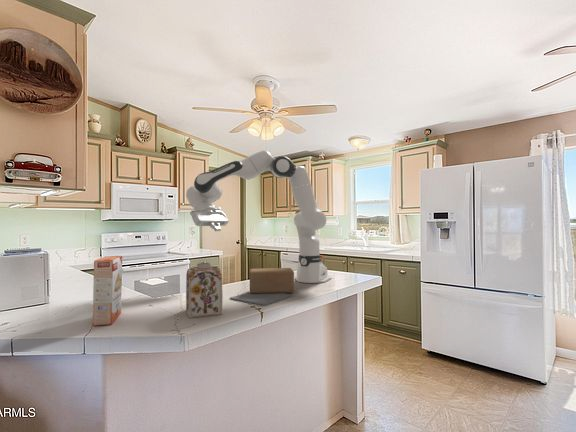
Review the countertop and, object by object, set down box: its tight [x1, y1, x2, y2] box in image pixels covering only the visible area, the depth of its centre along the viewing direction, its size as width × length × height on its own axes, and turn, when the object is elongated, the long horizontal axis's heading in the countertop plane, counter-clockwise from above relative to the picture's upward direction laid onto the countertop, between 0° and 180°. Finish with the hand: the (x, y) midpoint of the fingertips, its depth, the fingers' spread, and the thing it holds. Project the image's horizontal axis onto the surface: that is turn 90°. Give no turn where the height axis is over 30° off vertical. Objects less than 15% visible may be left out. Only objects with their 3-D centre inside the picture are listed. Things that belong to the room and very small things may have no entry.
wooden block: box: [249, 267, 295, 294], centre depth 147 cm, size 10×10×20 cm
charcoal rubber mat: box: [229, 291, 294, 307], centre depth 137 cm, size 20×19×1 cm
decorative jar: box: [185, 261, 223, 319], centre depth 115 cm, size 12×12×18 cm
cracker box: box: [92, 255, 123, 327], centre depth 107 cm, size 14×6×21 cm, turn 17°
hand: (218, 230), depth 158 cm, fingers closed
